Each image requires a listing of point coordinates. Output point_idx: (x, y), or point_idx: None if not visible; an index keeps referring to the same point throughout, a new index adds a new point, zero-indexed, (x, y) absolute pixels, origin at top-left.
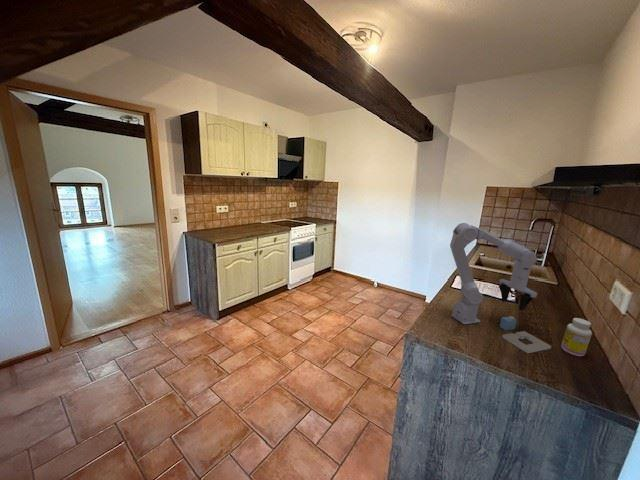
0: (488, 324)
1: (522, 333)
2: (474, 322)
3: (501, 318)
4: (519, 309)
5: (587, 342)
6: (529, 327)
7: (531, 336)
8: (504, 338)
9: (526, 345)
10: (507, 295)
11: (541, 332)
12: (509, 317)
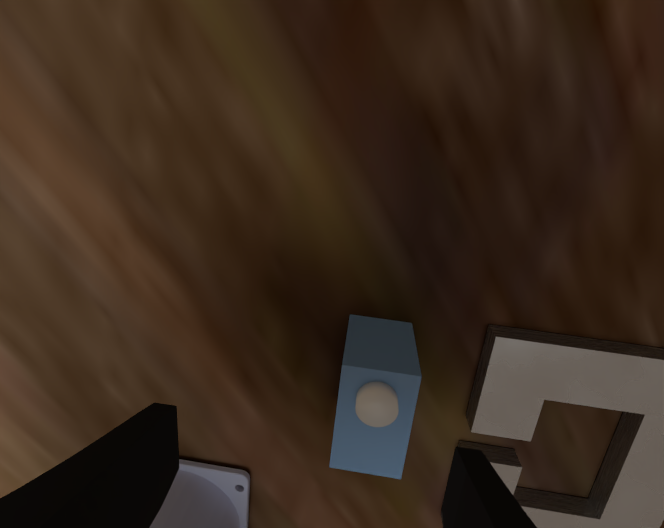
0: (289, 444)
1: (507, 393)
2: (247, 521)
3: (330, 458)
4: (448, 512)
5: None
6: (456, 151)
7: (572, 371)
8: None
9: (605, 525)
10: (97, 500)
11: (565, 130)
12: (364, 418)
